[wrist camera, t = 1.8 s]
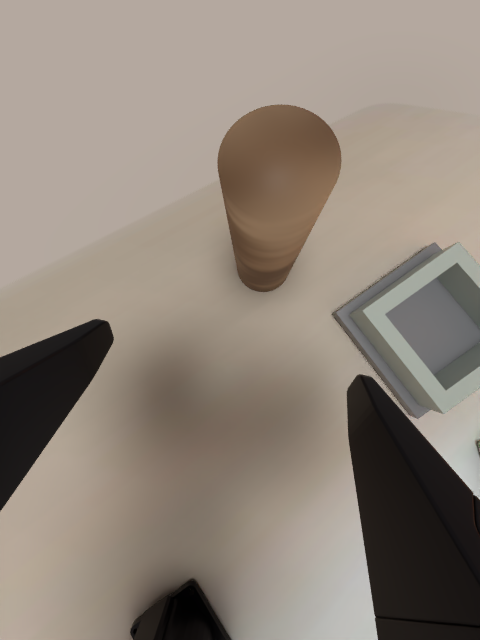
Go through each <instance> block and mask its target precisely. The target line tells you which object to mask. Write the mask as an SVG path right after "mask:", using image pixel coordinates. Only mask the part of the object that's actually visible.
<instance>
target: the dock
mask: <svg viewBox="0 0 480 640" xmlns="http://www.w3.org/2000/svg"><path fill="white" fill-rule="evenodd" d="M332 315H333V316H334V317H335V319H336V320H337V321H338V322H339V324H340V325H341V326H342V328H343V329H344V330H345V332H346V333H347V334H348V336H349V337H350V338H351V339H352V341H353V342H354V343H355V345H356V346H357V347H358V349H359V350H360V351H361V352H362V354H363V355H364V356H365V358H366V359H367V360H368V362H369V363H370V364H371V365H372V367H373V368H374V369H375V371H376V372H377V373H378V375H379V376H380V377H381V378H382V380H383V381H384V382H385V384H386V385H387V386H388V388H389V389H390V390H391V391H392V393H393V394H394V395H395V397H396V398H397V399H398V401H399V402H400V403H401V405H402V406H403V407H404V408H405V410H406V411H407V412H408V414H409V415H410V416H413V417H415V418H417V419H418V418H420V417H421V416H423V415H424V414H425V413H427V412H428V411H429V410H434V411H437V412H439V413H442V414H445V413H446V412H448V411H449V410H450V409H452V408H453V407H454V406H456V405H457V404H459V403H460V402H461V401H463V400H464V399H465V398H467V397H468V396H470V395H471V394H472V393H474V392H475V391H476V390H478V389H479V388H480V265H479V264H478V263H477V262H476V260H475V259H474V258H473V257H472V256H471V255H470V254H469V253H468V251H467V250H466V249H465V248H464V247H463V246H462V245H461V244H460V242H457V243H455V244H453V245H451V246H449V247H447V248H445V249H443V250H442V249H441V248H440V247H439V246H438V245H437V244H436V243H435V242H434V243H433V244H431V245H429V246H427V247H426V248H424V249H423V250H421V251H420V252H419V253H417V254H416V255H414V256H413V257H412V258H410V259H409V260H407V261H406V262H405V263H403V264H402V265H400V266H399V267H398V268H396V269H395V270H393V271H392V272H390V273H389V274H388V275H386V276H385V277H383V278H382V279H381V280H379V281H378V282H376V283H375V284H374V285H372V286H371V287H369V288H368V289H367V290H365V291H364V292H362V293H361V294H360V295H358V296H357V297H355V298H354V299H353V300H351V301H350V302H348V303H347V304H346V305H344V306H343V307H341V308H340V309H339V310H337V311H336V312H334V313H333V314H332Z"/></svg>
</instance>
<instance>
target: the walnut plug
mask: <svg viewBox="0 0 480 640" xmlns="http://www.w3.org/2000/svg"><path fill="white" fill-rule="evenodd" d="M340 169H341V151H340V146H339V143H338V141H337V138H336V136H335V134H334V133H333V131H332V130H331V128H330V127H329V126H328V125H327V124H326V123H325V122H324V121H323V120H322V119H321V118H320V117H319V116H317V115H316V114H314V113H312V112H310V111H308V110H305V109H303V108H300V107H296V106H291V105H271V106H265V107H262V108H259V109H256V110H254V111H252V112H249V113H248V114H246V115H244V116H243V117H242V118H240V119H239V120H238V121H237V122H236V123H235V124H234V125H233V126H232V127H231V128H230V129H229V131H228V132H227V133H226V135H225V137H224V139H223V141H222V143H221V146H220V149H219V153H218V172H219V178H220V183H221V188H222V193H223V198H224V203H225V209H226V214H227V219H228V224H229V229H230V234H231V239H232V244H233V250H234V255H235V260H236V265H237V270H238V274H239V277H240V279H241V280H242V282H243V283H244V284H245V285H246V286H247V287H249V288H250V289H252V290H255V291H259V292H267V291H271V290H274V289H276V288H278V287H279V286H280V285H281V284H282V283H283V282H284V281H285V279H286V278H287V276H288V274H289V272H290V270H291V268H292V266H293V264H294V262H295V260H296V258H297V257H298V255H299V253H300V251H301V249H302V247H303V245H304V243H305V241H306V239H307V237H308V236H309V234H310V232H311V230H312V228H313V226H314V224H315V222H316V220H317V218H318V216H319V215H320V213H321V211H322V209H323V207H324V205H325V203H326V201H327V199H328V197H329V195H330V194H331V192H332V190H333V188H334V186H335V184H336V182H337V179H338V177H339V173H340Z"/></svg>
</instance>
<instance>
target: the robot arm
mask: <svg viewBox="0 0 480 640" xmlns="http://www.w3.org/2000/svg"><path fill="white" fill-rule="evenodd" d="M113 340H114V337H113V334H112V330H111V327H110V324H109V323H108V322H107V321H104V320H100V319H94V320H92V321H89V322H87V323H84V324H82V325H79V326H77V327H74V328H72V329H70V330H67V331H65V332H62V333H60V334H57V335H55V336H52V337H50V338H47V339H45V340H42V341H40V342H37V343H35V344H32V345H30V346H27V347H25V348H22V349H20V350H17V351H15V352H13V353H10V354H8V355H5V356H3V357H0V510H2V508H3V507H4V506H5V504H6V503H7V501H8V500H9V498H10V497H11V496H12V494H13V493H14V491H15V490H16V488H17V487H18V486H19V484H20V483H21V481H22V480H23V478H24V477H25V475H26V474H27V473H28V471H29V470H30V468H31V467H32V465H33V464H34V463H35V461H36V460H37V458H38V457H39V455H40V454H41V453H42V451H43V450H44V448H45V447H46V445H47V444H48V443H49V441H50V440H51V438H52V437H53V435H54V434H55V432H56V431H57V430H58V428H59V427H60V425H61V424H62V422H63V421H64V420H65V418H66V417H67V415H68V414H69V412H70V411H71V410H72V408H73V407H74V405H75V404H76V402H77V401H78V400H79V398H80V397H81V395H82V394H83V392H84V391H85V389H86V388H87V387H88V385H89V384H90V382H91V381H92V379H93V378H94V376H95V374H96V373H97V371H98V369H99V367H100V365H101V363H102V362H103V360H104V358H105V356H106V354H107V353H108V351H109V349H110V347H111V345H112V343H113ZM347 413H348V437H349V445H350V452H351V459H352V465H353V472H354V479H355V486H356V492H357V499H358V506H359V513H360V519H361V526H362V533H363V540H364V546H365V553H366V560H367V566H368V573H369V580H370V587H371V593H372V600H373V607H374V614H375V617H376V618H375V622H376V628H377V635H378V640H480V500H479V499H478V497H477V496H475V495H473V492H472V491H471V490H470V488H469V487H468V486H467V485H466V484H465V483H464V482H463V480H462V479H461V478H460V477H459V476H458V475H457V474H456V472H455V471H454V470H453V469H452V468H451V467H450V466H449V464H448V463H447V462H446V461H445V460H444V459H443V458H442V456H441V455H440V454H439V453H438V452H437V451H436V450H435V448H434V447H433V446H432V445H431V444H430V443H429V442H428V440H427V439H426V438H425V437H424V436H423V435H422V434H421V432H420V431H419V430H418V429H417V428H416V427H415V426H414V424H413V423H412V422H411V421H410V420H409V419H408V418H407V416H406V415H405V414H404V413H403V412H402V411H401V410H400V408H399V407H398V406H397V405H396V404H395V403H394V402H393V400H392V399H391V398H390V397H389V396H388V395H387V394H386V392H385V391H384V390H383V389H382V388H381V387H380V386H379V384H378V383H377V382H376V381H375V380H374V379H373V378H372V377H370V376H366V375H361V374H359V375H357V376H356V378H355V379H354V380H353V382H352V383H351V385H350V386H349V388H348V390H347ZM190 589H193V590H190ZM130 633H131V636H132V638H133V640H230V639H229V637H228V635H227V634H226V632H225V630H224V629H223V627H222V625H221V624H220V622H219V620H218V618H217V617H216V615H215V613H214V612H213V610H212V608H211V607H210V605H209V603H208V601H207V600H206V598H205V596H204V595H203V593H202V591H201V590H200V588H199V586H198V584H197V583H196V582H195V581H189V582H187V583H186V584H185V585H183V586H182V587H181V588H179V589H178V590H176V591H175V592H174V593H172V594H171V595H167V596H166V597H165V598H163V599H162V600H160V601H159V602H158V603H156V604H155V605H154V606H152V607H151V608H149V609H148V610H147V611H145V612H144V614H143V615H142V616H141V617H139V618H138V619H137V620H135V621H134V623H133V625H132V628H131V631H130Z"/></svg>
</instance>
